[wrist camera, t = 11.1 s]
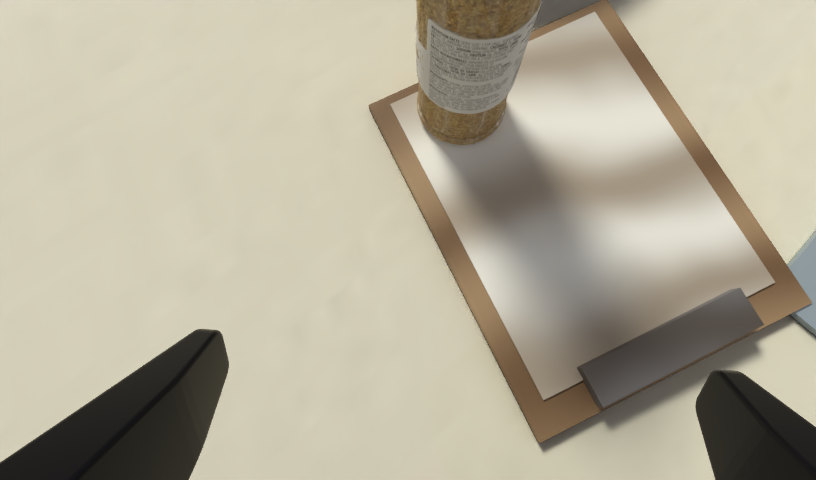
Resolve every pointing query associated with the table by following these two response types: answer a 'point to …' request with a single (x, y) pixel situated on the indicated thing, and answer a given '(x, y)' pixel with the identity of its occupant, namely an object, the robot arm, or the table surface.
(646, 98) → the clipboard
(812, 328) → the word card
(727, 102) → the table surface
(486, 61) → the sprinkles bottle
